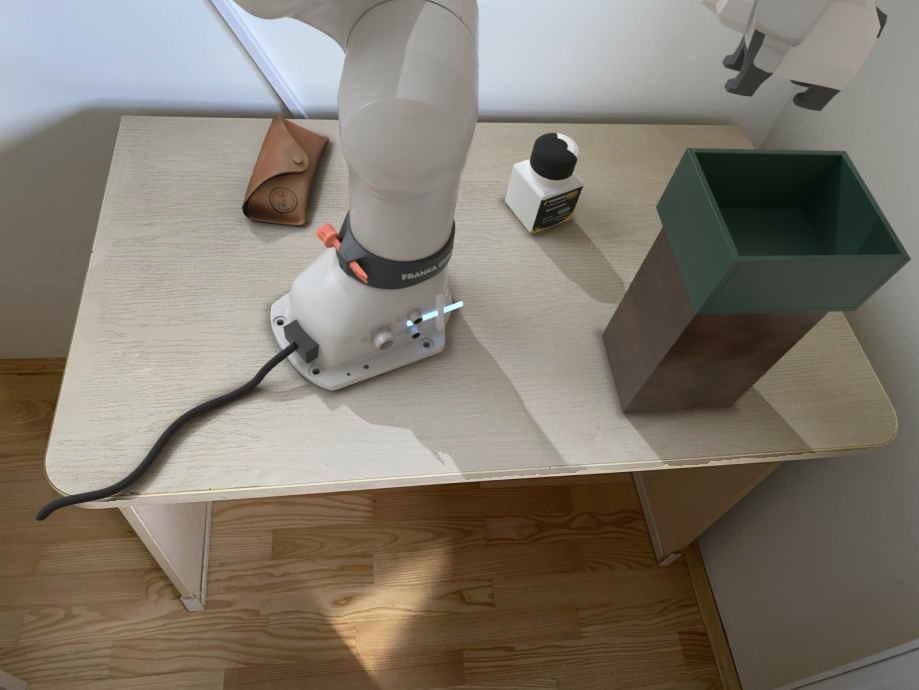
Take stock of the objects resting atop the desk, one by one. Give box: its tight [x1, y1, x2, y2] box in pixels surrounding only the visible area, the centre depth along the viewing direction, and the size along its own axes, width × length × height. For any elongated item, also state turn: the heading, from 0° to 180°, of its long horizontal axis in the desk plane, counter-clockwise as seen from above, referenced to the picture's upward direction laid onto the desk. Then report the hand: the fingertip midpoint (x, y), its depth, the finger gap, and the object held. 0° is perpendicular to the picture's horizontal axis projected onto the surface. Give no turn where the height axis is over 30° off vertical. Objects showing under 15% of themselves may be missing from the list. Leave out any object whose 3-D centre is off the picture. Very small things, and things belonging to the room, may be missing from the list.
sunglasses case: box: [241, 113, 330, 227], centre depth 91 cm, size 18×7×7 cm
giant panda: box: [699, 0, 888, 112], centre depth 52 cm, size 15×6×10 cm, turn 80°
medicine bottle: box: [504, 132, 585, 235], centre depth 90 cm, size 7×7×12 cm
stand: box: [601, 226, 829, 414], centre depth 73 cm, size 14×11×22 cm
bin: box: [655, 147, 912, 315], centre depth 61 cm, size 16×13×8 cm
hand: (782, 43), depth 53 cm, fingers closed on giant panda, 7 cm apart
